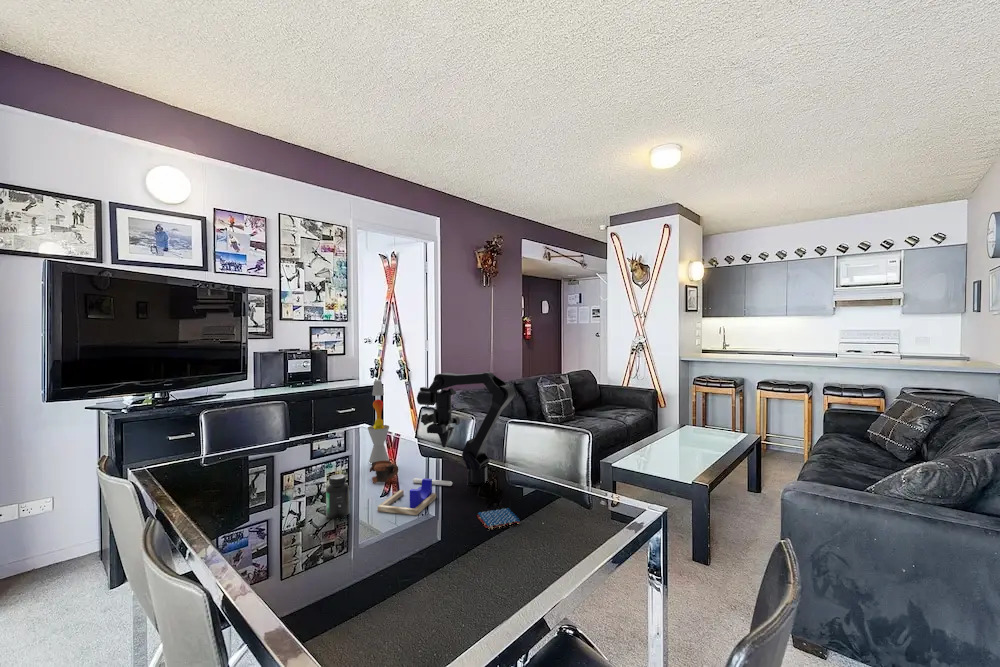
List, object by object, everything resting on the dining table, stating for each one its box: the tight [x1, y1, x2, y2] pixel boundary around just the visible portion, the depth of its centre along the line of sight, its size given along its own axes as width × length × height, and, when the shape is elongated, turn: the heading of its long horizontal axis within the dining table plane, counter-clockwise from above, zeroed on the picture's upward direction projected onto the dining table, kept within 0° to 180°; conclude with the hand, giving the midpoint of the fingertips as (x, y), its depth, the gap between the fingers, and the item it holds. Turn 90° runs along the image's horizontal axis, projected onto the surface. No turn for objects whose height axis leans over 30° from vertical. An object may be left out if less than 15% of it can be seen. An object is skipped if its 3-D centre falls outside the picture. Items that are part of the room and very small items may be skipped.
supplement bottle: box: [325, 473, 351, 520], centre depth 144 cm, size 7×7×12 cm
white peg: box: [412, 478, 453, 487], centre depth 172 cm, size 16×2×2 cm, turn 74°
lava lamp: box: [367, 379, 390, 463], centre depth 201 cm, size 9×9×35 cm
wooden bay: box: [377, 489, 437, 516], centre depth 153 cm, size 13×15×2 cm
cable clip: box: [409, 478, 433, 509], centre depth 155 cm, size 12×4×6 cm, turn 168°
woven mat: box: [476, 507, 521, 530], centre depth 139 cm, size 10×11×2 cm
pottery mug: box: [369, 460, 399, 484], centre depth 178 cm, size 12×10×8 cm
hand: (444, 447), depth 178 cm, fingers closed
